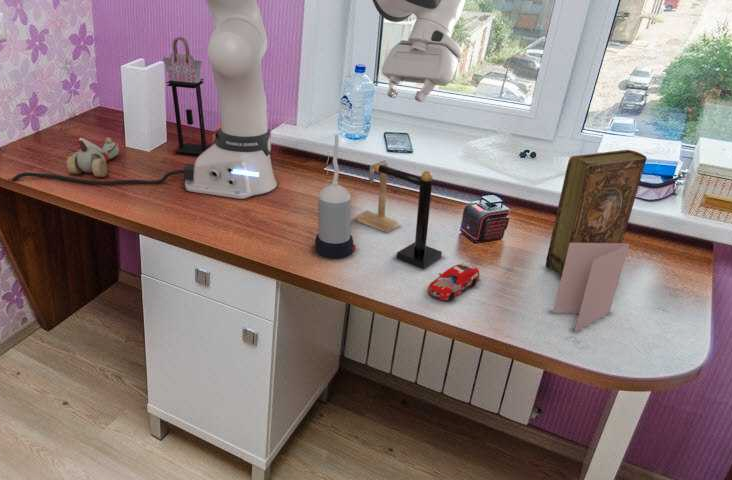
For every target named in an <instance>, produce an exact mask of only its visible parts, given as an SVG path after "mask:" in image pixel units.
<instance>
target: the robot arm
mask: <svg viewBox="0 0 732 480" xmlns="http://www.w3.org/2000/svg"><path fill="white" fill-rule="evenodd" d="M371 1H372V3H373V6H374V7H375V9H376V11H377V12H378V13H379V15H380V16H381V17H382V18H383V19H385V20H387V21H389V22H391V23H400V22H404V21H405V20H407V19H408V18H409V17H410V16H412V14H413V15H414V16H415V17H416V19H415V22H414V24H413V27H412V29H411V31H410V33H409V36H408V38H407V40H400V41H399V42H398V43H396V44H394V45H393V47H392V48H391V50H390V51H389V52H388V54H387V56H386V59H385V60H384V62H383V64H382V67H381V74H382V75H383V76H384V77H385V78H387V79H388V90H387V92H386V95H387V96H388V98H391V99H396V98H397V96H398V94H399V91H398V90H397V87H398V86H399V85H400V83H401V82H405V83H415V84H421V85H422V84H423V86H422V87H421V89H420V90H417V91H416V93H415V96H414V100H415V101H417V102H419V103H425V100H426V98H427V96H428V95H429V94H430V93H431V92H432V91H433V90H434V88H435V86H439V87H440V86H442V87H446V86H447V85H449V84H450V83H451V81H452V79H453V77H454V75H455V72H456V71H457V67H458V64H459V58H460V57H461V56H462V54H463V51H464V50H463V48H462V47H461V46H460V44H458V42H457V41H456V40H454V39H453V38H452V37H453V32H454V31H453V30H454V28H455V26H456V24H457V23H458V22H459V20H460V18H461V15H462V12H463V10H464V7H465V4H466V2H467V0H371ZM205 3H206V5H207V7H208V10H209V13H210V15H211V17H212V21H213V24H214V28H215V29H214V30H213V32H212V33H211V35H210V37H209V39H208V45H207V56H208V60H209V62H210V64H211V70H212V76H213V80H214V83H215V88H216V91H217V97H218V107H219V117H220V124H218V125H217V126H216V127H215V128H214V131H213V135H212V141H213V142H214V143H213V144H212V145H210V147H209V148H208V149H207V150H206V151H204V152H203V153H202V154H201V155H199V156H197V157H196V159H195V161H194V163H185V166H184V168H183V169H178V170H172V171H169V172H167V173H165V174H164V175H163V176H162V178H160V179H156V180H144V179H121V180H120V179H119V180H92V179H91V180H90V179H83V178H77V177H71V176H70V177H69V176H63V175H60V174H52V173H39V172H22V173H17V174H16V175H14V177H12V179H11V182H16V181H17V180H19V179H20V178H23V177H38V178H51V179H57V180H63V181H68V182H74V183H81V184H88V185H102V186H103V185H104V186H105V185H107V186H108V185H121V184H122V185H123V184H142V185H158V184H161V183H164V182H165V181H166V180H167V179H168V178H169V177H172V176H174V175H180V174H183V177H184V180H185V181H184V188H185V190H186V191H188V192H193V193H199V194H205V195H213V196H218V197H225V198H232V199H238V200H244V199H247V198H250V197H253V196H257V195H262V194H267V193H269V192H272V191H273V190H274V189H276V187H277V186H278V183H277V180H276V177H275V173H274V169H273V165H272V159H271V151H272V139H271V132H270V129H269V125H268V106H267V105H268V104H267V95H266V91H265V85H264V79H263V71H262V61H263V60H262V59H263V57H264V56H265V54H266V52H267V48H268V37H267V33H266V32H267V31H266V29H265V25H264V21H263V17H262V14H261V11H260V7H259V4H258V0H205Z"/></svg>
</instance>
